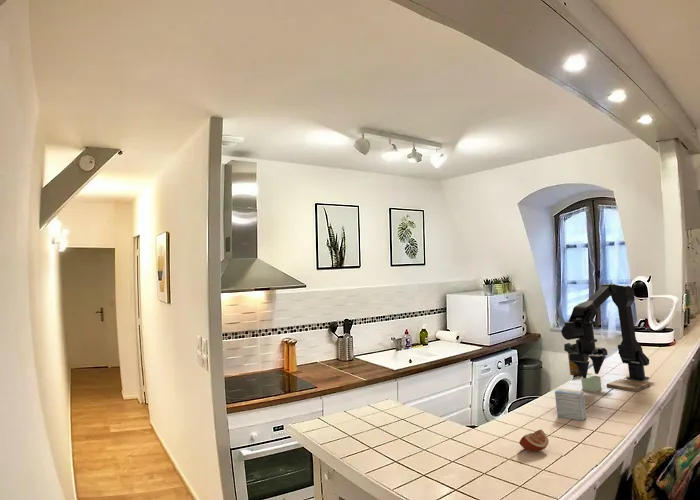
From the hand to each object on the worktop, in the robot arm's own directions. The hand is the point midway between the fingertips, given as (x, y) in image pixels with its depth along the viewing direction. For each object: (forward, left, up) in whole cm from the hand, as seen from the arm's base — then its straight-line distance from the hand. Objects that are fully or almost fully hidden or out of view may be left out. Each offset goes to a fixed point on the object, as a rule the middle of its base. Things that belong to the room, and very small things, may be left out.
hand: (590, 375), depth 175 cm
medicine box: (+37, +13, -6) cm, 40 cm away
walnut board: (-12, +8, -5) cm, 15 cm away
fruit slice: (+69, +21, -6) cm, 72 cm away
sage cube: (0, 0, -5) cm, 5 cm away
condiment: (-21, -17, -6) cm, 27 cm away
